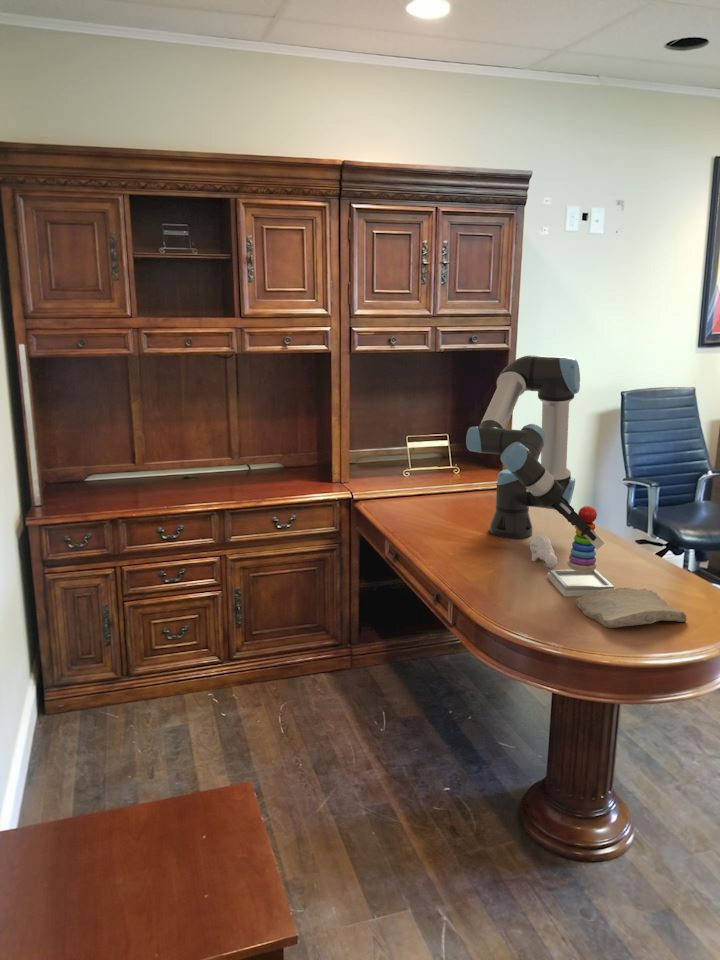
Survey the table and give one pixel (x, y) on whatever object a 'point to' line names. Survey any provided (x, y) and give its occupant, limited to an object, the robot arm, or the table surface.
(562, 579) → the tray
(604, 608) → the tablet
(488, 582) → the table surface
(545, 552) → the lumpy white figurine
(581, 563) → the stacking toy
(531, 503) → the robot arm
